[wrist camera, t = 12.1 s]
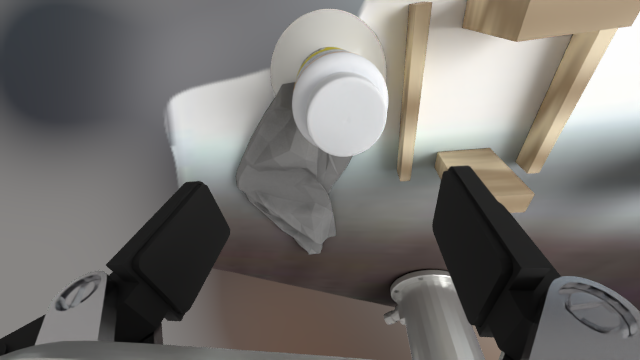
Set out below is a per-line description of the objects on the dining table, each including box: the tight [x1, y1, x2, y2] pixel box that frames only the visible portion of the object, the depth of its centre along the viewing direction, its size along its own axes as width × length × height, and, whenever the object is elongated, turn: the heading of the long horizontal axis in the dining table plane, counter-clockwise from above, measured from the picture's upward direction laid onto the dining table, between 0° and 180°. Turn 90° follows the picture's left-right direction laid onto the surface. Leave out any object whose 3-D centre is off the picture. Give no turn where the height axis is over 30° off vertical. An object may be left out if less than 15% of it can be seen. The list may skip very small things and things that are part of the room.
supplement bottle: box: [292, 47, 388, 157], centre depth 15 cm, size 6×6×10 cm
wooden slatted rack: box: [397, 0, 640, 213], centre depth 18 cm, size 15×13×7 cm
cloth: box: [236, 82, 352, 254], centre depth 27 cm, size 26×14×2 cm, turn 172°
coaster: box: [270, 9, 386, 96], centre depth 20 cm, size 10×10×1 cm
